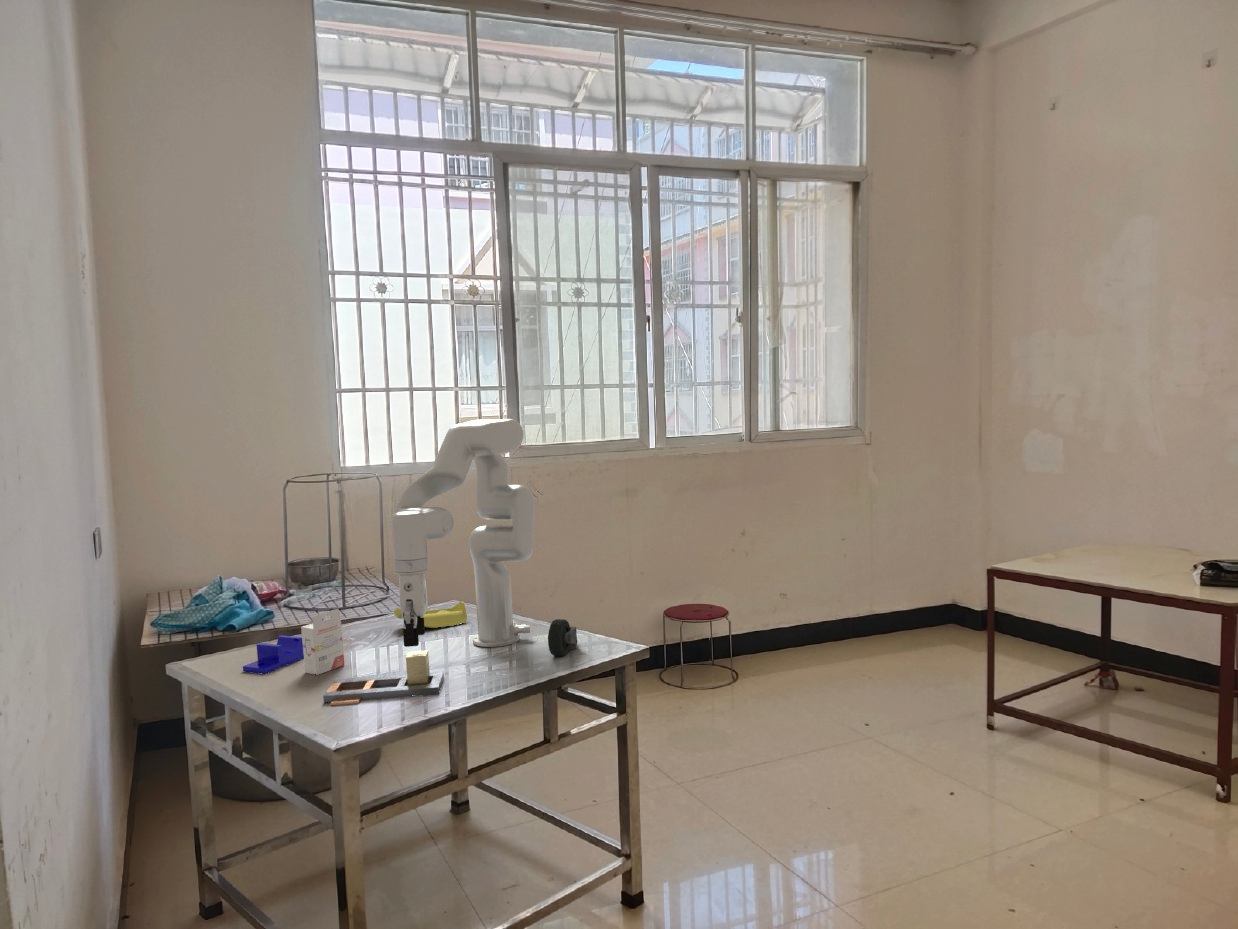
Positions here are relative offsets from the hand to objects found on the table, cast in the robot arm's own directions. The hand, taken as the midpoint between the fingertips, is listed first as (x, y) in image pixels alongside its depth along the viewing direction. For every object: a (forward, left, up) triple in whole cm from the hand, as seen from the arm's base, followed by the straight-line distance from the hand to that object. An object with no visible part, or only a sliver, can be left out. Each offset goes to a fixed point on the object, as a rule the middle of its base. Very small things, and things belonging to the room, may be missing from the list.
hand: (414, 640), depth 190 cm
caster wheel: (-34, -21, -12) cm, 42 cm away
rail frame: (+7, -1, -11) cm, 13 cm away
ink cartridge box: (+26, -21, -12) cm, 35 cm away
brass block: (0, -1, -11) cm, 11 cm away
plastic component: (+4, -57, -12) cm, 58 cm away
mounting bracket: (+39, -30, -12) cm, 50 cm away
